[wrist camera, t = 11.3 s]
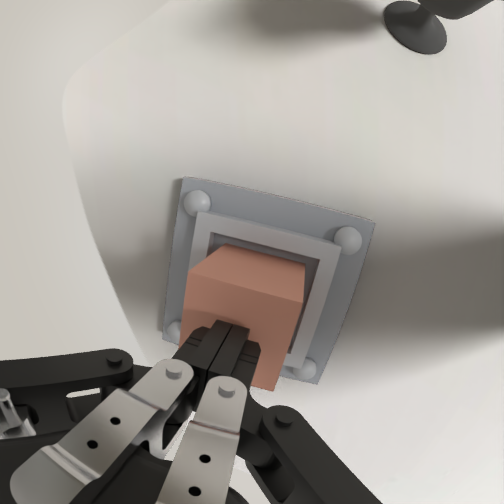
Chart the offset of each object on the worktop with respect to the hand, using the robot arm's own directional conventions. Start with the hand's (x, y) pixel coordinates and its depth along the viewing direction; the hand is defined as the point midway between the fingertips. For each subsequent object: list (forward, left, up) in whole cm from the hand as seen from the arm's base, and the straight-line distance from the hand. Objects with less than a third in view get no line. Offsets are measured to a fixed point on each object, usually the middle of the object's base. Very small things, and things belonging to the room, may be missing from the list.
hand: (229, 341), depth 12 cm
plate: (0, 0, -8) cm, 8 cm away
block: (0, 0, -6) cm, 6 cm away
